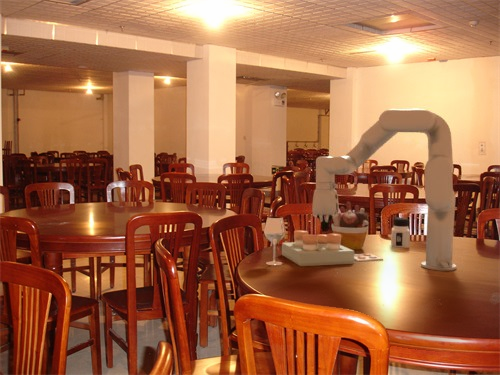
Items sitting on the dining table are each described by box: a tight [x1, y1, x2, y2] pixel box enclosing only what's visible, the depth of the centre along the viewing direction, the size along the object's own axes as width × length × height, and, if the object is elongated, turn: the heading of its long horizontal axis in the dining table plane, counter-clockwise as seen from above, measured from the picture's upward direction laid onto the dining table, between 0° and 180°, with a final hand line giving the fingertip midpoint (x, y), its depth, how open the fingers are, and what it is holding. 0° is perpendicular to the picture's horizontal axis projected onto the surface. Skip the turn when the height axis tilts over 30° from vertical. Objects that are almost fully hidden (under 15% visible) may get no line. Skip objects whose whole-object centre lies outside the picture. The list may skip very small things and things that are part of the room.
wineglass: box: [263, 215, 287, 267], centre depth 210 cm, size 8×8×18 cm
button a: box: [326, 233, 341, 250], centre depth 217 cm, size 6×6×7 cm
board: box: [281, 241, 355, 267], centre depth 220 cm, size 22×22×5 cm
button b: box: [316, 233, 327, 246], centre depth 226 cm, size 6×6×7 cm
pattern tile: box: [354, 253, 384, 262], centre depth 224 cm, size 11×11×1 cm
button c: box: [303, 233, 318, 251], centre depth 214 cm, size 6×6×7 cm
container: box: [390, 217, 411, 249], centre depth 252 cm, size 8×8×13 cm
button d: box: [293, 229, 309, 247], centre depth 224 cm, size 6×6×7 cm
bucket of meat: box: [330, 201, 370, 251], centre depth 245 cm, size 20×16×20 cm
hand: (325, 231), depth 226 cm, fingers closed
